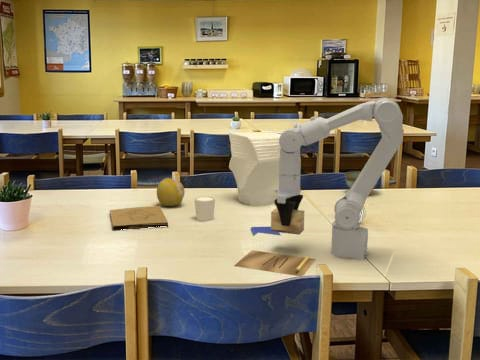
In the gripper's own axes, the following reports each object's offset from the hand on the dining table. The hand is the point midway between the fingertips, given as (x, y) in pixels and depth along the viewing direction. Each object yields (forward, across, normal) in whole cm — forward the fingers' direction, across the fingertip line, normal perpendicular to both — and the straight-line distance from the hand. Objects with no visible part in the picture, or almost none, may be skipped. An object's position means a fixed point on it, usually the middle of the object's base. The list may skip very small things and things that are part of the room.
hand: (288, 223), depth 149 cm
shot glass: (+9, -22, -36) cm, 43 cm away
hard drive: (+10, -14, -11) cm, 20 cm away
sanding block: (+2, 0, 0) cm, 2 cm away
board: (+9, +10, 0) cm, 14 cm away
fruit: (+9, -34, -55) cm, 65 cm away
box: (+10, -12, -56) cm, 58 cm away
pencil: (+8, +10, +7) cm, 14 cm away
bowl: (+9, -80, +6) cm, 81 cm away
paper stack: (+9, -54, -25) cm, 60 cm away
